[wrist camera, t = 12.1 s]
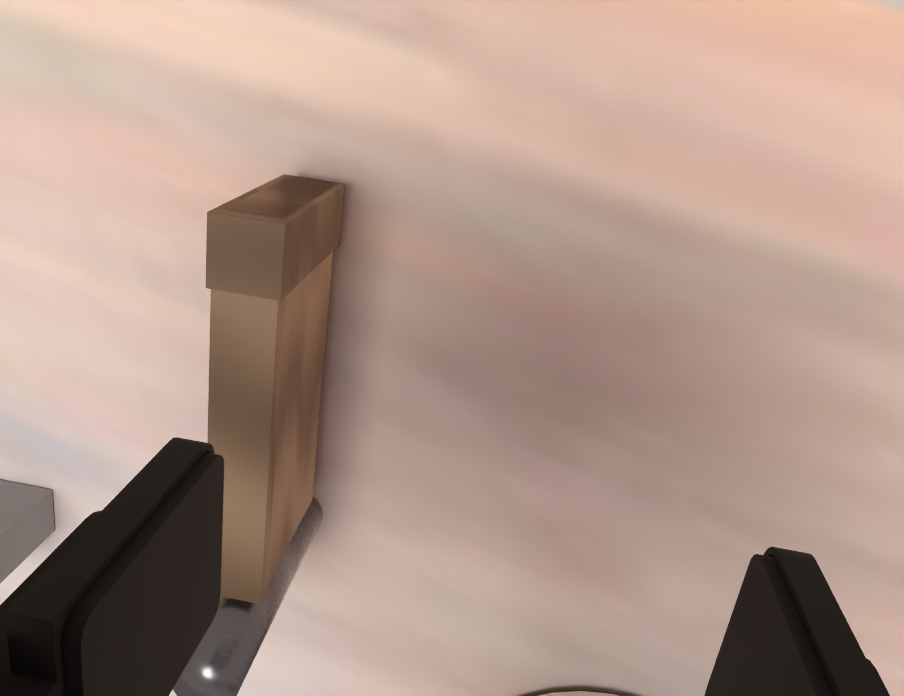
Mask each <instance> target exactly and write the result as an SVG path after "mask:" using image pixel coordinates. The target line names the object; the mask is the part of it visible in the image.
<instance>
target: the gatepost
mask: <svg viewBox="0 0 904 696" xmlns="http://www.w3.org/2000/svg"><path fill="white" fill-rule="evenodd" d="M321 519H322V510H321V507H320V505H319V503H318V502H317V501H316V499H315V498H314V497H313V498H312V501H311V503H310V505H309V507H308V509H307V511H306V513H305V514H304V516H303V518H302V520H301V522H300V524H299V526H298V528H297V530H296V532H295V533H294V535H293V537H292V539H291V541H290V543H289V545H288V547H287V549H286V551H285V552H284V554H283V556H282V558H281V560H280V562H279V564H278V566H277V568H276V570H275V572H274V573H273V575H272V577H271V579H270V581H269V583H268V589H267V593H266V595H265V597H264V599H263V601H262V603H261V604H257V603H252V602H246V601H241V600H236V599H231V598H226V597H221V596H220V602H219V606H218V610H217V613H216V615H215V617H214V619H213V621H212V623H211V625H210V626H209V628H208V630H207V632H206V633H205V635H204V637H203V638H202V640H201V642H200V643H199V645H198V647H197V648H196V650H195V652H194V654H193V655H192V657H191V659H190V660H189V662H188V664H187V665H186V667H185V669H184V670H183V672H182V674H181V676H180V677H179V679H178V681H177V682H176V684H175V686H174V687H173V690H174V692H175V693H176V694H177V696H237V694H238V691H239V689H240V687H241V685H242V683H243V681H244V679H245V677H246V675H247V673H248V671H249V669H250V667H251V665H252V663H253V660H254V658H255V656H256V654H257V652H258V650H259V648H260V646H261V644H262V642H263V640H264V638H265V636H266V634H267V632H268V629H269V627H270V625H271V623H272V621H273V619H274V617H275V615H276V613H277V611H278V609H279V607H280V605H281V603H282V601H283V598H284V596H285V594H286V592H287V590H288V588H289V586H290V584H291V582H292V580H293V578H294V576H295V574H296V572H297V570H298V567H299V565H300V563H301V561H302V559H303V557H304V555H305V553H306V551H307V549H308V547H309V545H310V543H311V541H312V539H313V536H314V534H315V532H316V530H317V528H318V526H319V524H320V522H321Z"/></svg>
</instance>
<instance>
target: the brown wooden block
mask: <svg viewBox="0 0 904 696" xmlns="http://www.w3.org/2000/svg"><path fill="white" fill-rule="evenodd" d="M344 189H345V184H339V183H333V182H327V181H321V180H315V179H309V178H303V177H297V176H291V175H285V174H284V175H282V176H280V177H278V178H276V179H274V180H272V181H270V182H268V183H266V184H264V185H262V186H260V187H258V188H255V189H253V190H251V191H249V192H247V193H245V194H243V195H241V196H239V197H237V198H235V199H233V200H231V201H229V202H227V203H225V204H223V205H221V206H219V207H217V208H215V209H213V210H211V211H209V212H207V254H206V288H209V289H211V315H210V360H209V405H208V443H210V444H211V445H212V446H213V448H214V454H217V455H222V456H223V458H224V495H223V530H222V565H221V595H220V596H221V597H226V598H231V599H236V600H241V601H246V602H252V603H257V604H261V603H262V601H263V599H264V597H265V595H266V593H267V589H268V583H269V581H270V579H271V577H272V575H273V573H274V572H275V570H276V568H277V566H278V564H279V562H280V560H281V558H282V556H283V554H284V552H285V551H286V549H287V547H288V545H289V543H290V541H291V539H292V537H293V535H294V533H295V532H296V530H297V528H298V526H299V524H300V522H301V520H302V518H303V516H304V514H305V513H306V511H307V509H308V507H309V505H310V503H311V501H312V498H313V486H314V474H315V462H316V450H317V438H318V426H319V414H320V402H321V390H322V378H323V366H324V354H325V342H326V330H327V318H328V306H329V294H330V282H331V270H332V258H333V251H334V250H335V249H336V248H337V247H338V246H339V245H340V235H341V223H342V212H343V200H344Z"/></svg>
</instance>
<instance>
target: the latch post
mask: <svg viewBox="0 0 904 696" xmlns="http://www.w3.org/2000/svg"><path fill="white" fill-rule="evenodd" d="M54 530H55V524H54V509H53V494H52V490H51V489H46V488H41V487H36V486H31V485H26V484H20V483H15V482H10V481H5V480H0V583H1V582H2V581H3V580H4V579H5V578H6V577H7V576H8V575H9V574H10V573H11V572H12V571H13V570H14V569H15V568H16V567H18V566H19V565H20V564H21V563H22V562H23V561H24V560H25V559H26V558H27V557H28V556H29V555H30V554H31V553H32V552H33V551H34V550H35V549H36V548H37V547H38V546H39V545H40V544H41V543H42V542H43V541H44V540H45V539H46V538H47V537H48V536H49V535H50V534H51V533H52V532H53V531H54Z"/></svg>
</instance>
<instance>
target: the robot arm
mask: <svg viewBox="0 0 904 696" xmlns="http://www.w3.org/2000/svg"><path fill="white" fill-rule="evenodd" d="M223 495H224V458H223V456H222V455H217V454H214V448H213V446H212V445H211V444H210V443H204V442H199V441H193V440H188V439H182V438H173V439H171V440H170V441H169V442H168V443H167V444H166V445H165V446H164V447H163V448H162V449H161V450H160V451H159V452H158V453H157V455H156V456H155V457H154V458H153V459H152V460H151V461H150V462H149V463H148V464H147V465H146V466H145V467H144V468H143V469H142V470H141V471H140V472H139V473H138V474H137V475H136V476H135V477H134V478H133V479H132V480H131V481H130V482H129V483H128V484H127V486H126V487H125V488H124V489H123V490H122V491H121V492H120V493H119V494H118V495H117V496H116V497H115V498H114V499H113V500H112V501H111V502H110V503H109V504H108V505H107V506H106V507H105V508H104V509H103V510H102V511H98V512H94V513H92V514H91V515H90V516H88V517H87V518H86V519H85V520H84V521H83V522H82V523H81V524H80V525H79V526H78V527H77V528H76V529H75V530H74V531H73V532H72V533H71V534H70V535H69V536H68V537H67V538H66V539H65V540H64V541H63V542H62V543H61V544H60V545H59V546H58V547H57V548H56V549H55V550H54V551H53V552H52V553H51V554H50V555H49V556H48V558H47V559H46V560H45V561H44V562H43V563H42V564H41V565H40V566H39V567H38V568H37V569H36V570H35V571H34V572H33V573H32V574H31V575H30V576H29V577H28V578H27V579H26V580H25V581H24V582H23V583H22V584H21V585H20V586H19V587H18V588H17V589H16V590H15V591H14V592H13V593H12V594H11V595H10V596H9V597H8V598H7V599H6V600H5V601H4V602H3V603H2V604H1V605H0V696H169V694H170V692H171V691H172V689H173V687H174V686H175V684H176V682H177V681H178V679H179V677H180V676H181V674H182V672H183V670H184V669H185V667H186V665H187V664H188V662H189V660H190V659H191V657H192V655H193V654H194V652H195V650H196V648H197V647H198V645H199V643H200V642H201V640H202V638H203V637H204V635H205V633H206V632H207V630H208V628H209V626H210V625H211V623H212V621H213V619H214V617H215V615H216V613H217V610H218V606H219V602H220V595H221V565H222V530H223ZM538 696H618V695H614V694H608V693H597V692H586V691H572V692H555V693H548V694H543V695H538ZM705 696H890V695H889V693H888V691H887V689H886V687H885V685H884V683H883V681H882V679H881V678H880V676H879V674H878V672H877V670H876V668H875V667H874V666H873V664H872V663H871V661H870V660H868V659H866V658H865V656H864V654H863V652H862V650H861V648H860V646H859V644H858V642H857V640H856V638H855V636H854V634H853V632H852V630H851V628H850V626H849V624H848V622H847V621H846V619H845V617H844V615H843V613H842V611H841V609H840V607H839V605H838V603H837V601H836V599H835V597H834V595H833V593H832V591H831V589H830V587H829V585H828V583H827V581H826V579H825V577H824V575H823V573H822V572H821V570H820V568H819V566H818V564H817V562H816V560H815V558H814V557H813V556H812V555H811V554H808V553H803V552H797V551H792V550H787V549H781V548H776V547H770V548H768V549H767V550H766V552H765V553H764V555H759V554H755V555H754V556H753V557H752V558H751V561H750V563H749V566H748V569H747V572H746V575H745V578H744V580H743V583H742V586H741V589H740V592H739V595H738V598H737V601H736V604H735V607H734V610H733V613H732V616H731V618H730V621H729V624H728V627H727V630H726V633H725V636H724V639H723V642H722V645H721V648H720V651H719V654H718V656H717V659H716V662H715V665H714V668H713V671H712V674H711V677H710V680H709V683H708V686H707V689H706V692H705Z"/></svg>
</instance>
